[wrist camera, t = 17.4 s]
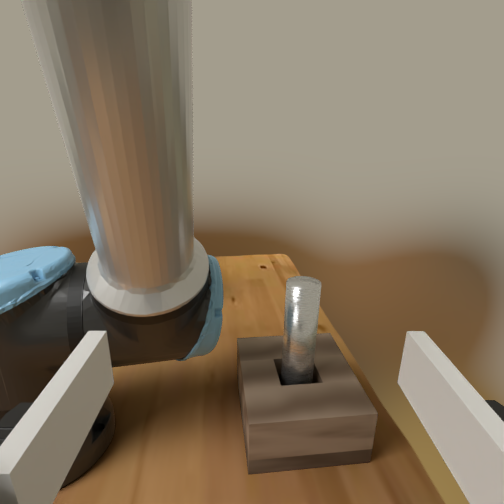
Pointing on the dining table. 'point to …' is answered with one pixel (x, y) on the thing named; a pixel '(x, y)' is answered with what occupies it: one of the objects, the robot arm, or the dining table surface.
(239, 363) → the socket block
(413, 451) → the dining table surface
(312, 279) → the steel pin
